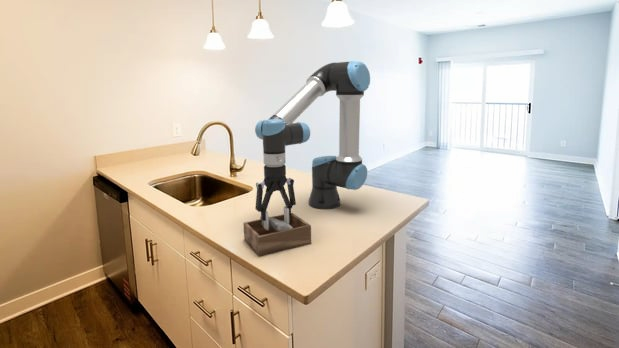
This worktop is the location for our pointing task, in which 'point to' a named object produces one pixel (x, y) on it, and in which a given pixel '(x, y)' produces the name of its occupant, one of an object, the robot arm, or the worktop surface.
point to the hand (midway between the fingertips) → (276, 226)
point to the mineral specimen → (277, 224)
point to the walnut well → (276, 235)
